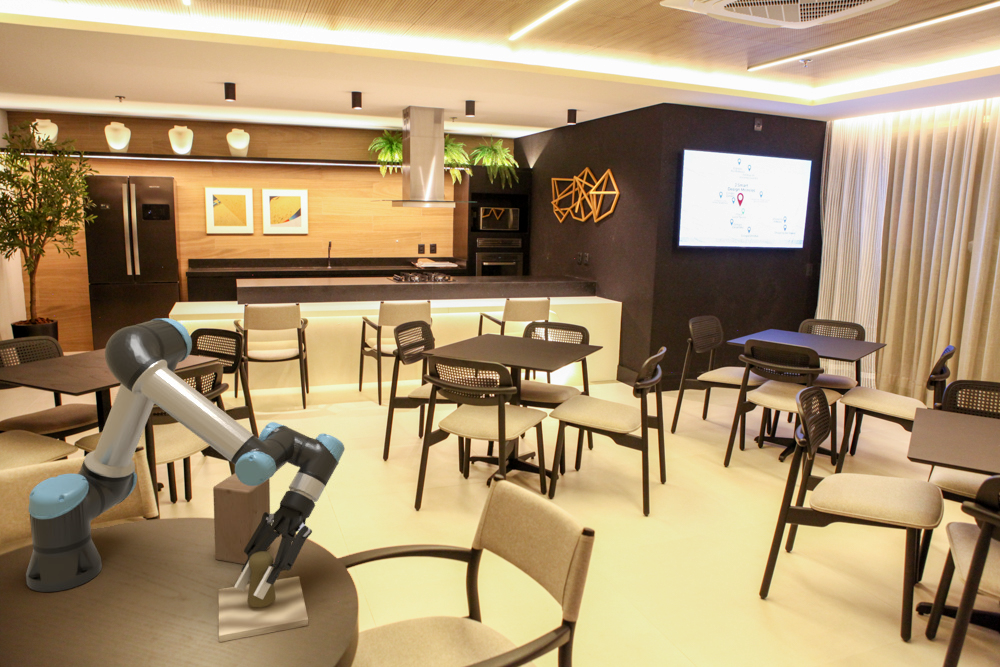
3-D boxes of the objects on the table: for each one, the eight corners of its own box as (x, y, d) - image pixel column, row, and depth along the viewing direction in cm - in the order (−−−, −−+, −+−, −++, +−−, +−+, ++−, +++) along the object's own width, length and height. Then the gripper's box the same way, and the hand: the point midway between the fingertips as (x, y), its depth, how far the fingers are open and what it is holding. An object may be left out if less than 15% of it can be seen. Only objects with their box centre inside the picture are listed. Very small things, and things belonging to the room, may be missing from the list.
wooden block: (250, 566, 168) (248, 491, 164) (214, 560, 169) (212, 486, 166) (271, 546, 177) (270, 476, 174) (237, 541, 179) (235, 471, 175)
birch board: (218, 595, 155) (218, 589, 154) (298, 581, 162) (298, 576, 161) (219, 642, 139) (218, 635, 138) (308, 625, 146) (308, 619, 145)
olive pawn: (259, 610, 146) (258, 564, 144) (241, 600, 149) (240, 555, 147) (281, 597, 151) (281, 553, 149) (263, 588, 154) (263, 544, 152)
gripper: (339, 512, 156) (288, 611, 145) (281, 493, 164) (229, 585, 153) (323, 499, 150) (269, 601, 139) (265, 480, 158) (209, 575, 147)
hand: (248, 592), depth 146 cm, fingers closed on olive pawn, 5 cm apart
